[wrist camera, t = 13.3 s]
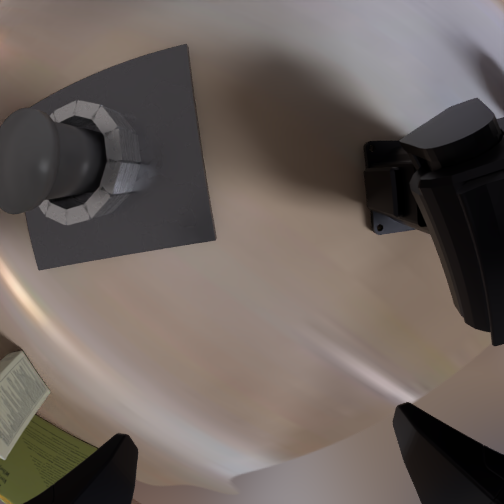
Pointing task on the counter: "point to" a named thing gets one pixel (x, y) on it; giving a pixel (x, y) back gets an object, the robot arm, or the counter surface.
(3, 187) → the plug
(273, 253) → the counter surface
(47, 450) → the protein box
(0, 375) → the skincare box
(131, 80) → the barrel stand
